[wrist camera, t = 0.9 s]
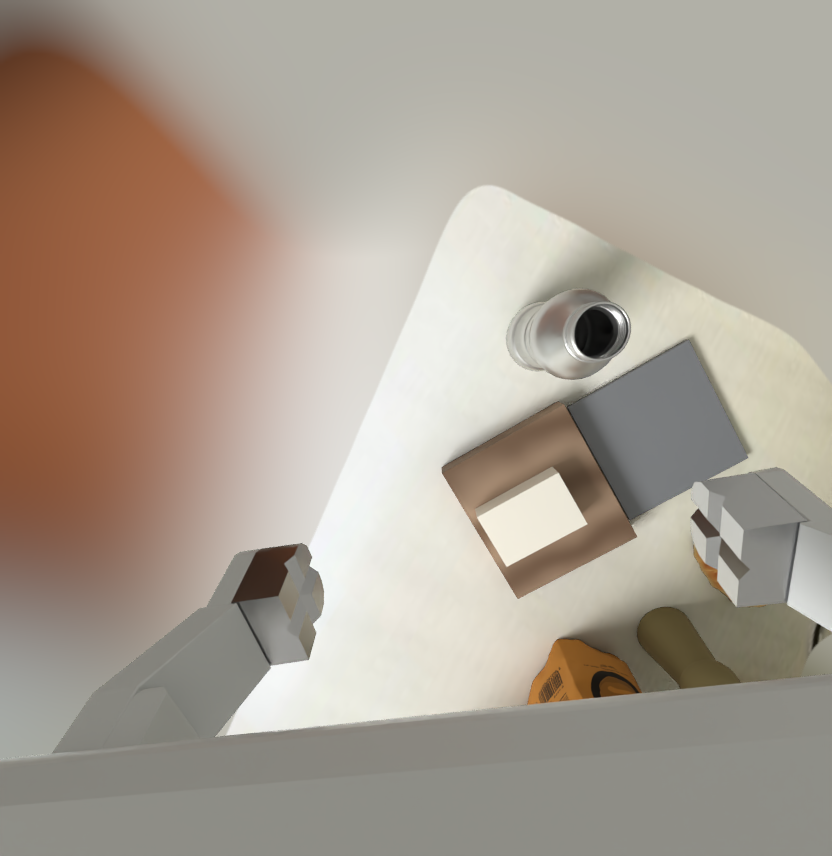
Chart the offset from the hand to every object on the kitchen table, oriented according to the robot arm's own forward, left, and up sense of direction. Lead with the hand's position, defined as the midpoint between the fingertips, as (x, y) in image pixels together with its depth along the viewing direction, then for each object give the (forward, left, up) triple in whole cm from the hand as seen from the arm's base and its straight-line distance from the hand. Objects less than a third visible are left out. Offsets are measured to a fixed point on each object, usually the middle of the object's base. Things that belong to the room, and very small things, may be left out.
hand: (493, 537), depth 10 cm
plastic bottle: (0, -10, -41) cm, 42 cm away
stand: (-15, -2, -41) cm, 44 cm away
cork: (-36, -7, -41) cm, 55 cm away
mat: (-15, -16, -41) cm, 47 cm away
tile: (-15, -1, -38) cm, 41 cm away
